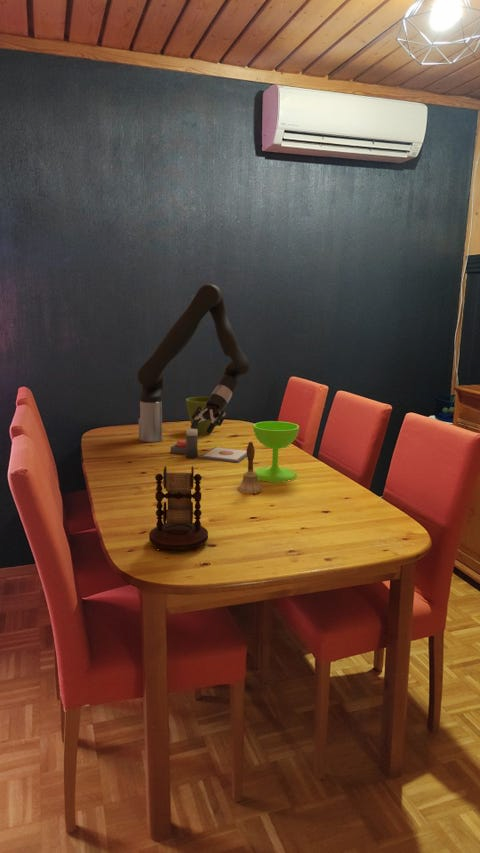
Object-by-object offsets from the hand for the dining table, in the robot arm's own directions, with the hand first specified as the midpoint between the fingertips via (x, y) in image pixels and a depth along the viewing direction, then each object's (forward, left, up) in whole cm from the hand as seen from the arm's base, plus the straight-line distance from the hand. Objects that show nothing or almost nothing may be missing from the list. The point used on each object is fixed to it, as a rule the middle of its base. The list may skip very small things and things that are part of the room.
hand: (200, 430), depth 228 cm
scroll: (+29, -80, -10) cm, 86 cm away
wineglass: (+35, -15, -10) cm, 40 cm away
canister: (-2, -4, -10) cm, 11 cm away
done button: (-9, +2, -8) cm, 12 cm away
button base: (-9, +2, -10) cm, 13 cm away
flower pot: (-15, +36, -10) cm, 40 cm away
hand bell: (+32, -33, -10) cm, 48 cm away
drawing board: (+10, +3, -10) cm, 14 cm away
